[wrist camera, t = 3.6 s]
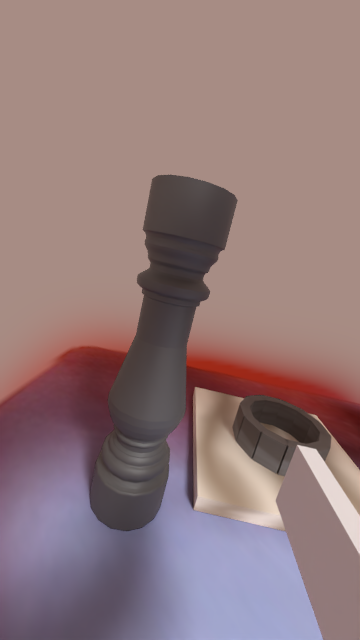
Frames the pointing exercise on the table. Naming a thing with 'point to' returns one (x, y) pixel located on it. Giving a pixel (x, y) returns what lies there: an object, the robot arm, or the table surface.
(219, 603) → the table surface
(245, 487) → the socket board
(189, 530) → the table surface
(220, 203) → the candle holder
